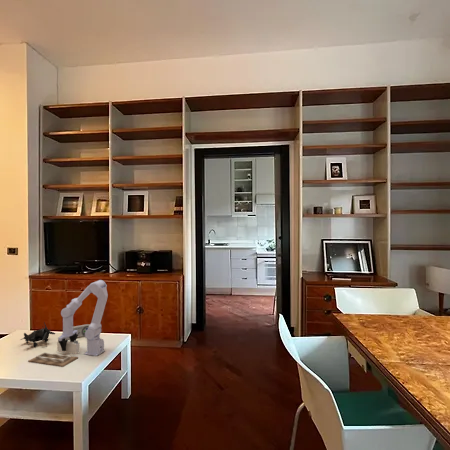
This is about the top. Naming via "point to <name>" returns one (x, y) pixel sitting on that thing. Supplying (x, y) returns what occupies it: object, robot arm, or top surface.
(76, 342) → the cream rectangular block
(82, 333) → the game controller
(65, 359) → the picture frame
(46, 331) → the airplane toy
